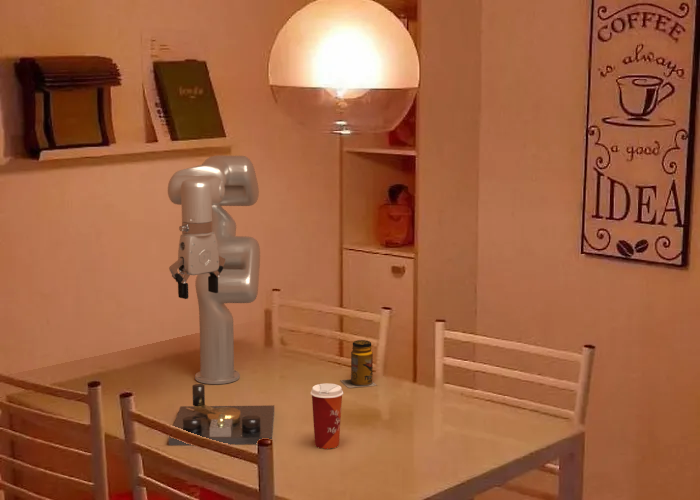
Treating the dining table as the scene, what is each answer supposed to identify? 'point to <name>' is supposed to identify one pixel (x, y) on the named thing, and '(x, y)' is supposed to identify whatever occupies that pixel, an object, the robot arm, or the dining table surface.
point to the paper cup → (327, 414)
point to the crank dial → (210, 411)
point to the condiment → (361, 365)
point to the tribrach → (227, 425)
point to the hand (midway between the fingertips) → (198, 295)
